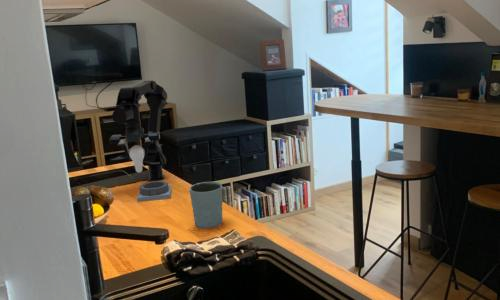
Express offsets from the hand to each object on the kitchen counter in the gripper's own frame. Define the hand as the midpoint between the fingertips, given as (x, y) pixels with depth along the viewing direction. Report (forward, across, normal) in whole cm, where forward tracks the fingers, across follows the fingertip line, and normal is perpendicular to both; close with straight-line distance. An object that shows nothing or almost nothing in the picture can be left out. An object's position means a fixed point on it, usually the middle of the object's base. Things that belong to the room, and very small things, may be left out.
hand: (137, 159), depth 187 cm
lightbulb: (+6, 0, 0) cm, 6 cm away
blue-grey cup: (+13, +25, -46) cm, 54 cm away
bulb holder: (+12, +6, -10) cm, 17 cm away
